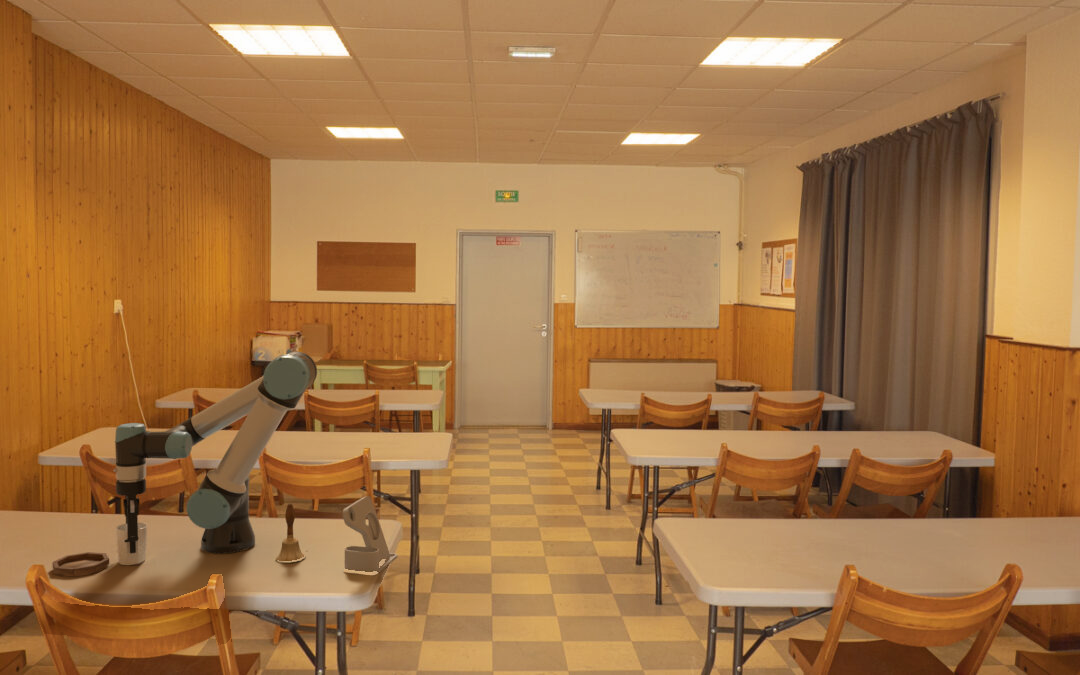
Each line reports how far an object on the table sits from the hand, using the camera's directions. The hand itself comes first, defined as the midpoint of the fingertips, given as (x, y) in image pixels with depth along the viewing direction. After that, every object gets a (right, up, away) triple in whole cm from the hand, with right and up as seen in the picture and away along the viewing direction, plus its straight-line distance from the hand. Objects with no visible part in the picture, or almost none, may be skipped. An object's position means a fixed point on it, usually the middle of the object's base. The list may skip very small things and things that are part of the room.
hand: (132, 558), depth 230 cm
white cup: (0, -1, 0) cm, 1 cm away
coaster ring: (-11, -1, -6) cm, 13 cm away
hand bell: (+43, -2, +5) cm, 43 cm away
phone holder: (+67, -2, +2) cm, 67 cm away
